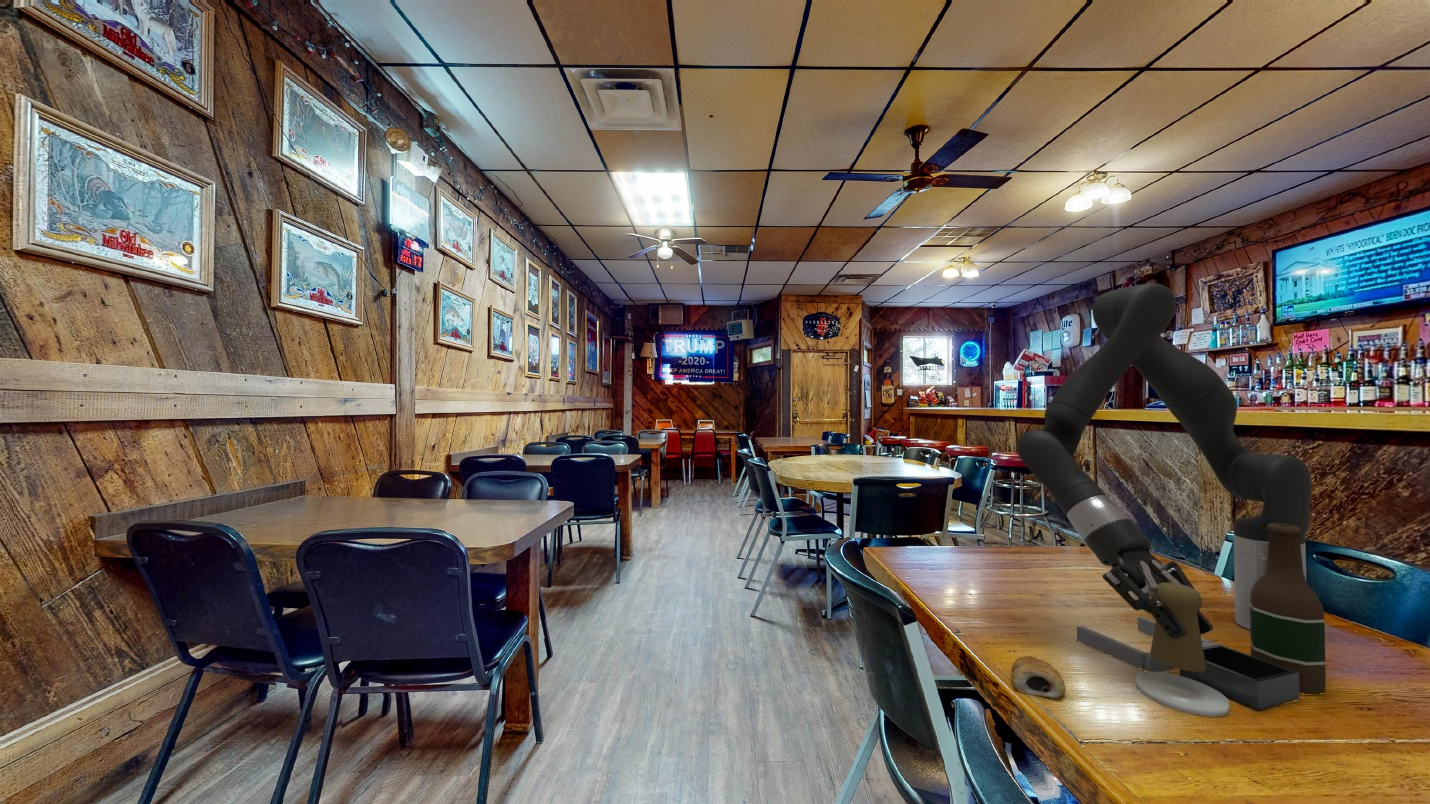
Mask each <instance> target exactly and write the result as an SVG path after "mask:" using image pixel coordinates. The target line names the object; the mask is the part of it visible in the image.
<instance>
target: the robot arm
mask: <svg viewBox="0 0 1430 804" xmlns="http://www.w3.org/2000/svg"><path fill="white" fill-rule="evenodd" d="M1176 311H1177V299H1176V296H1175V293H1174V292H1173V291H1172V290H1171V289H1170V288H1169V287H1167V286H1166V285H1163V284H1160V283H1152V282H1151V283H1144V284H1137V285H1133V286H1132V285H1131V286H1127V287H1126V286H1125V287H1122V288H1118V289H1112V290H1110V291H1108V292H1105V293H1103V294H1101V295H1100V296H1098V298H1096V300H1095V301H1094V303H1093V306H1092V313H1091V314H1092V318H1093V322H1094V324H1095V326H1096V327H1097V329H1098V331H1100V333H1102V335H1103V336H1104V337H1105V338H1106V339H1107V341H1106V342H1105V343H1104V344H1103V345H1102V346H1101V347H1100V348H1099V349H1098V350H1097V351H1096V352H1095V353H1094V354H1093V355H1092V356H1091V357H1089V358H1088V359H1087V360H1086V361H1084V362H1083V363H1082V364H1081V365H1080V366H1079V367H1077V368H1076V369H1075V370H1074V371H1073V372H1072V373H1070V374H1069V376H1068V377H1067V378H1065V380H1064V381H1063V383H1062V384H1061V385H1060V387H1059V388H1058V389H1057V391H1056V392H1055V394H1054V395H1053V398H1052V399H1051V401H1050V402H1049V404H1048V405H1047V407H1046V409H1045V411H1044V425H1043V427H1042V429H1032V430H1028V431H1026V432H1025V433H1023V434H1022V435H1020V437H1019V438H1018V441H1017V443H1016V453H1017V455H1018V457H1019V459H1020V460H1021V462H1022V463H1023V464H1024V465H1025V466H1026V467H1027V468H1028V470H1029V471H1030V472H1031V474H1033V475H1034V477H1036V478H1037V479H1038V480H1039V482H1040V483H1041V484H1042V485H1043V486H1044V487H1045V489H1046V490H1047V491H1048V494H1050V496H1051V498H1052V500H1053V501H1054V502H1055V503H1056V504H1057V506H1058V507H1059V508H1060V510H1061V511H1062V513H1063V514H1064V515H1065V516H1066V518H1067V519H1068V521H1069V522H1070V524H1071V525H1072V527H1073V528H1074V530H1075V531H1076V533H1077V534H1078V535H1079V537H1080V538H1081V539H1082V540H1083V542H1084V543H1085V544H1086V545H1087V547H1088V548H1089V549H1090V550H1091V552H1092V553H1093V554H1094V556H1096V558H1097V559H1098V560H1099V562H1100V563H1101V564H1102V565H1104V566H1107V567H1111V568H1110V570H1108V571H1106V572H1104V573H1103V574H1102V576H1101V577H1102V578H1103V580H1104V581H1105V582H1106V583H1107V584H1108V585H1109V586H1110V587H1111V588H1112V589H1113V590H1114V591H1115V592H1116V593H1117V594H1118V595H1119V596H1120V597H1121V598H1122V599H1123V600H1124V601H1125V602H1126V603H1127V604H1128V605H1129V606H1130V607H1131V608H1132V609H1133V610H1134V611H1136V612H1138V611H1144V612H1145V613H1147V614H1150V615H1152V617H1153V618H1154V619H1155V620H1154V621H1157V622H1158V623H1159V624H1160V626H1161V627H1162V628H1163V630H1164V631H1165V632H1166V633H1167V634H1168V635H1169V636H1170V637H1171V638H1173V639H1176V638H1180V637H1182V636H1184V635H1186V634H1187V630H1186V629H1185V628H1184V627H1183V625H1182V624H1181V623H1180V622H1179V621H1178V619H1177V618H1176V617H1175V616H1174V615H1173V613H1172V612H1171V611H1170V610H1169V609H1168V607H1164V603H1163V601H1162V600H1161V599H1160V597H1159V596H1158V594H1157V591H1158V586H1157V584H1159V583H1177V584H1182V585H1185V586H1189V587H1191V588H1193V589H1195V587H1194V585H1193V584H1192V583H1191V581H1190V579H1189V578H1188V577H1187V576H1186V573H1184V570H1183V569H1182V568H1181V566H1180V565H1179V564H1178V563H1177V561H1174V560H1171V561H1169V562H1161V561H1160V560H1159V559H1158V558H1157V557H1156V556H1154V554H1152V553H1151V552H1150V548H1151V546H1152V543H1151V542H1152V541H1151V540H1150V539H1149V538H1148V537H1147V536H1146V535H1145V534H1144V533H1143V531H1141V529H1140V528H1139V527H1138V526H1137V525H1136V524H1135V522H1133V520H1132V519H1131V518H1130V517H1129V516H1128V515H1127V514H1126V512H1124V510H1123V509H1122V508H1121V507H1120V506H1119V505H1118V504H1117V503H1115V502H1114V501H1113V500H1112V499H1111V498H1110V497H1109V495H1107V493H1105V492H1104V490H1103V489H1102V488H1101V487H1100V486H1099V484H1098V483H1097V482H1096V481H1094V479H1093V478H1091V476H1090V475H1088V474H1087V473H1086V471H1084V470H1083V468H1082V467H1080V465H1079V464H1078V463H1077V462H1076V460H1075V459H1074V456H1075V454H1076V451H1077V449H1078V446H1079V444H1080V441H1081V439H1082V435H1083V434H1084V431H1085V428H1087V426H1088V425H1089V423H1090V422H1091V420H1092V419H1093V418H1094V416H1095V414H1096V413H1097V411H1098V409H1099V408H1100V406H1101V405H1102V403H1103V402H1104V400H1105V399H1106V397H1107V396H1108V394H1109V393H1110V391H1111V390H1112V389H1113V387H1114V386H1115V385H1116V383H1118V381H1119V380H1120V379H1121V378H1122V377H1123V376H1124V375H1125V374H1126V372H1127V371H1128V370H1129V369H1130V367H1132V366H1134V368H1135V369H1136V370H1137V371H1138V372H1139V374H1140V375H1141V376H1142V377H1143V378H1144V380H1145V381H1146V382H1147V384H1149V386H1150V387H1151V388H1152V390H1154V392H1155V393H1156V394H1157V396H1158V397H1159V399H1160V400H1161V402H1162V403H1163V404H1164V405H1165V407H1166V408H1167V409H1168V411H1170V413H1171V414H1172V415H1173V416H1174V418H1175V419H1176V420H1177V421H1178V422H1179V423H1180V424H1181V426H1182V428H1184V430H1185V431H1186V432H1187V434H1188V435H1189V436H1190V438H1191V439H1192V441H1193V442H1194V443H1195V445H1196V446H1197V447H1198V449H1199V450H1200V452H1201V453H1202V455H1203V457H1204V458H1205V460H1206V462H1207V463H1208V465H1209V467H1210V468H1211V469H1212V472H1213V473H1214V474H1215V476H1216V478H1217V480H1218V481H1219V482H1220V484H1221V485H1222V487H1223V488H1224V489H1225V490H1226V491H1227V492H1228V493H1229V494H1231V495H1232V496H1234V497H1237V498H1239V499H1242V500H1247V501H1254V502H1259V503H1263V504H1262V511H1261V513H1260V514H1258V515H1256V516H1252V517H1251V516H1250V517H1245V518H1244V517H1243V518H1242V517H1241V518H1238V519H1236V520H1234V523H1233V551H1234V552H1233V554H1234V555H1233V559H1234V560H1233V561H1234V562H1233V563H1234V565H1233V566H1234V567H1233V568H1234V570H1233V571H1234V618H1235V619H1234V620H1235V623H1236V624H1237V625H1239V626H1241V627H1243V628H1245V629H1247V630H1250V594H1251V589H1252V587H1253V586H1254V584H1255V582H1256V581H1257V580H1258V579H1259V578H1260V577H1262V576H1263V575H1264V574H1265V570H1266V566H1267V557H1268V543H1269V531H1268V530H1266V528H1267V526H1268V524H1271V523H1280V524H1288V525H1294V526H1297V527H1299V528H1300V529H1301V532H1302V534H1303V535H1301V536H1299V537H1300V546H1301V555H1302V564H1303V572H1304V576H1305V579H1306V580H1307V558H1306V556H1307V555H1306V553H1307V552H1306V534H1307V532H1308V530H1309V527H1310V524H1311V505H1312V504H1311V503H1312V493H1313V492H1312V491H1313V489H1312V488H1313V486H1312V481H1313V480H1312V475H1311V472H1310V470H1309V468H1308V466H1307V465H1306V463H1305V462H1304V461H1302V459H1300V458H1297V457H1294V456H1291V455H1290V456H1289V455H1283V454H1282V455H1278V454H1267V453H1254V452H1251V451H1250V450H1248V449H1247V448H1246V447H1245V446H1244V445H1243V444H1242V443H1241V442H1240V440H1239V439H1238V437H1237V436H1236V435H1235V432H1234V426H1235V421H1236V418H1237V412H1238V401H1237V398H1236V397H1235V394H1234V393H1233V392H1232V391H1231V389H1230V388H1229V387H1228V385H1227V384H1226V382H1225V381H1224V380H1223V379H1222V378H1221V376H1220V375H1219V374H1218V373H1217V372H1216V370H1214V369H1213V368H1212V367H1211V366H1209V365H1208V364H1206V363H1205V362H1203V361H1201V360H1200V359H1198V358H1196V357H1194V356H1193V355H1191V354H1190V353H1187V352H1186V351H1184V350H1182V349H1180V348H1178V347H1177V346H1175V345H1173V344H1172V343H1170V342H1169V341H1168V340H1166V339H1165V338H1164V337H1163V336H1162V335H1161V334H1162V333H1163V331H1165V330H1166V329H1167V327H1168V326H1169V324H1170V323H1171V322H1172V320H1173V319H1174V318H1175V315H1176V314H1175V313H1176ZM1195 590H1196V589H1195ZM1130 593H1131V594H1130ZM1163 607H1164V608H1163ZM1197 617H1198V623H1199V629H1200V635H1205V634H1208V633H1209V632H1211V631H1213V630H1214V626H1213V625H1212V624H1211V622H1210V621H1209V619H1207V617H1206V616H1205V615H1204V614H1203V613H1202V611H1201V610H1198V611H1197Z"/></svg>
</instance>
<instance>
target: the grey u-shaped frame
mask: <svg viewBox="0 0 1430 804" xmlns="http://www.w3.org/2000/svg"><path fill="white" fill-rule="evenodd" d="M1155 623H1156V620H1152V619H1149V618H1147V617H1145V616H1137V631H1138V630H1139V631H1138V632H1140V631H1141V632H1140V633H1143V632H1144V633H1143V634H1145V633H1146V635H1147V636H1151V635H1152V636H1151V637H1153V634H1154V629H1155ZM1076 641H1077V642H1079V641H1080V642H1079V643H1081V642H1082V643H1081V644H1083V643H1084V645H1085V644H1086V646H1089V647H1090V648H1091V649H1094V648H1095V650H1097V651H1099V650H1100V652H1101V651H1102V652H1101V653H1103V652H1104V653H1103V654H1105V653H1106V655H1108V656H1110V655H1111V656H1110V657H1112V658H1114V659H1117V660H1119V661H1120V662H1123V663H1125V662H1126V663H1125V664H1128V665H1130V666H1133V667H1134V666H1135V668H1136V669H1139V668H1141V669H1143V670H1145V671H1144V672H1146V671H1154V672H1158V671H1159V672H1163V670H1164V671H1168V670H1172V669H1173V670H1174V669H1175V668H1174V667H1171V666H1168V665H1165V664H1163V663H1161V662H1158V661H1157V660H1155V659H1153V658H1152V657H1151V656H1150V652H1145V651H1143V650H1140V649H1139V648H1136V647H1133V646H1131V645H1129V644H1126V643H1124V642H1122V641H1119V640H1116V639H1114V638H1111V636H1107V635H1105V634H1102V633H1100V632H1097V631H1095V630H1094V629H1090V628H1088V627H1086V626H1082V625H1080V626H1076ZM1201 641H1202V647H1206V646H1212V645H1217V644H1219V642H1215V641H1213V640H1212V641H1211V640H1209V639H1206V638H1203V637H1201ZM1141 669H1140V670H1141ZM1143 670H1142V671H1143Z"/></svg>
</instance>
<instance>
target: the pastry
mask: <svg viewBox="0 0 1430 804" xmlns="http://www.w3.org/2000/svg"><path fill="white" fill-rule="evenodd" d="M1010 668H1011V669H1010V670H1011V673H1012V679H1013V680H1012V684H1013V687H1015V689H1016V688H1017V689H1018V690H1021V691H1024V692H1025V693H1024V694H1026V693H1028V694H1027V695H1030V694H1031V696H1035V695H1039V696H1038V697H1043V696H1044V698H1047V697H1048V699H1060V698H1062V697H1063V696H1064V694H1065V692H1066V689H1067V688H1066V686H1065V681H1064V679H1063V677H1062V675H1061V673H1060V672H1058V670H1057V669H1056V668H1055V667H1053V666H1052V665H1051V664H1050V662H1047V661H1046V660H1043V659H1039V658H1038V657H1037V658H1036V657H1034V656H1032V655H1025V656H1022V657H1018V658H1016V659H1015V661H1014V662H1013V664H1012V667H1010ZM1017 689H1016V690H1017ZM1018 690H1017V691H1018ZM1061 696H1062V697H1061ZM1059 697H1060V698H1059Z"/></svg>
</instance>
